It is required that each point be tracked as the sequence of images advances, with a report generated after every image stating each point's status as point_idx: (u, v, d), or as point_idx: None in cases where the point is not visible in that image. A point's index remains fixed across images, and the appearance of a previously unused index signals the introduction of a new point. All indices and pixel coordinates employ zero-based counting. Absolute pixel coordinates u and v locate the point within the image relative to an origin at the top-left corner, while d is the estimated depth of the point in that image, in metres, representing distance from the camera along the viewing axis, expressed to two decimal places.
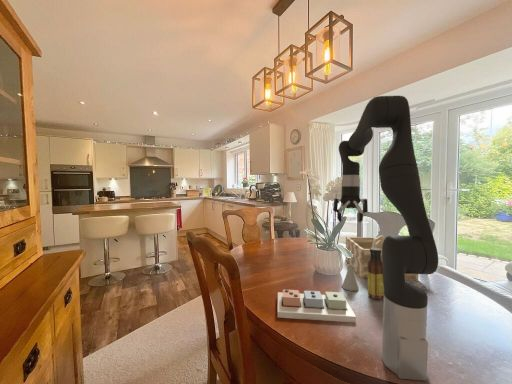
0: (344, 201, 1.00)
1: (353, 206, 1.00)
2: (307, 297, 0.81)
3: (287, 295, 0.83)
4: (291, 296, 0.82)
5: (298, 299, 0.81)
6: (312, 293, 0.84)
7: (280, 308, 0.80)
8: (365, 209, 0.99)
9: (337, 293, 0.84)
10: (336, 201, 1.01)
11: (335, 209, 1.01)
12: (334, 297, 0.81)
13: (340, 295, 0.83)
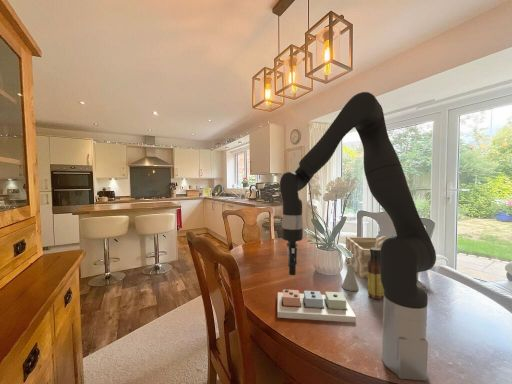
0: (295, 248, 0.81)
1: None
2: (307, 297, 0.81)
3: (287, 295, 0.83)
4: (291, 296, 0.82)
5: (298, 299, 0.81)
6: (312, 293, 0.84)
7: (280, 308, 0.80)
8: None
9: (337, 293, 0.84)
10: None
11: (296, 262, 0.78)
12: (334, 297, 0.81)
13: (340, 295, 0.83)
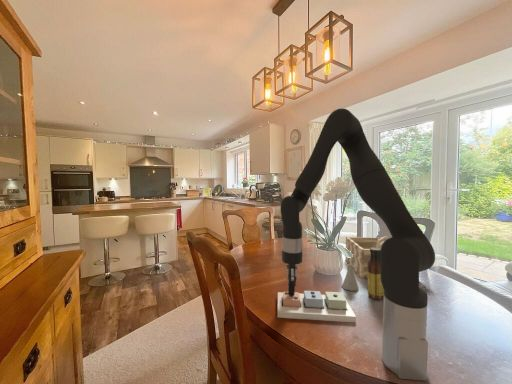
0: (295, 273, 0.82)
1: None
2: (307, 297, 0.81)
3: (287, 297, 0.83)
4: (291, 298, 0.82)
5: (298, 301, 0.81)
6: (312, 293, 0.84)
7: (280, 308, 0.80)
8: None
9: (337, 293, 0.84)
10: (295, 279, 0.79)
11: None
12: (334, 297, 0.81)
13: (340, 295, 0.83)
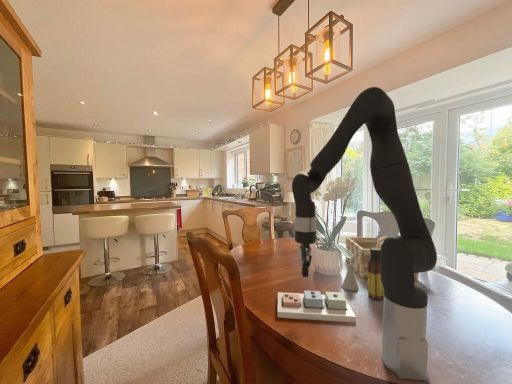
0: (309, 253, 0.80)
1: None
2: (307, 297, 0.81)
3: (287, 299, 0.83)
4: (291, 301, 0.82)
5: (298, 304, 0.81)
6: (312, 293, 0.84)
7: (280, 308, 0.80)
8: None
9: (337, 293, 0.84)
10: (310, 258, 0.77)
11: (309, 264, 0.80)
12: (334, 297, 0.81)
13: (340, 295, 0.83)
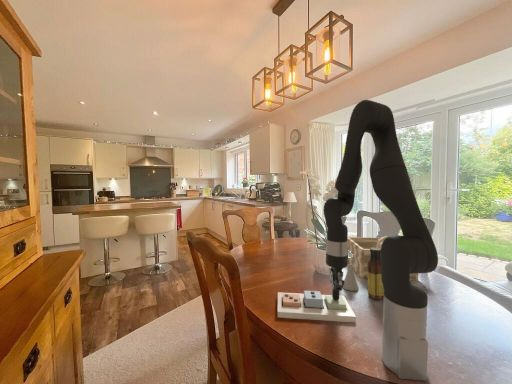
0: None
1: None
2: (307, 297, 0.81)
3: (287, 299, 0.83)
4: (291, 301, 0.82)
5: (298, 304, 0.81)
6: (312, 293, 0.84)
7: (280, 308, 0.80)
8: None
9: None
10: None
11: None
12: (334, 301, 0.82)
13: (340, 299, 0.83)
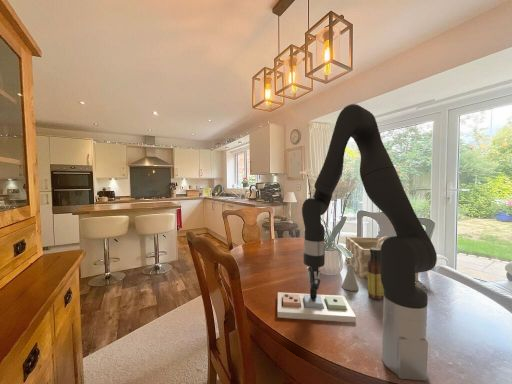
0: (317, 276, 0.81)
1: None
2: (307, 301, 0.81)
3: (287, 299, 0.83)
4: (291, 301, 0.82)
5: (298, 304, 0.81)
6: None
7: (280, 308, 0.80)
8: None
9: (337, 298, 0.84)
10: None
11: None
12: (334, 302, 0.82)
13: (340, 300, 0.83)
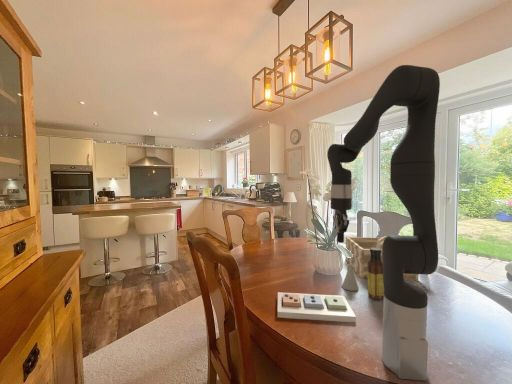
0: None
1: None
2: (307, 302, 0.81)
3: (287, 299, 0.83)
4: (291, 301, 0.82)
5: (298, 304, 0.81)
6: (312, 298, 0.84)
7: (280, 308, 0.80)
8: None
9: (337, 298, 0.84)
10: None
11: None
12: (334, 302, 0.82)
13: (340, 300, 0.83)
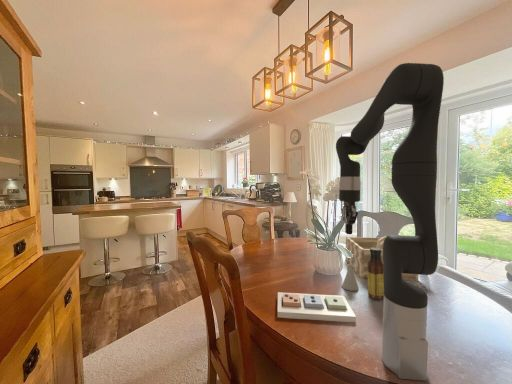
0: None
1: None
2: (307, 302, 0.81)
3: (287, 299, 0.83)
4: (291, 301, 0.82)
5: (298, 304, 0.81)
6: (312, 298, 0.84)
7: (280, 308, 0.80)
8: None
9: (337, 298, 0.84)
10: None
11: None
12: (334, 302, 0.82)
13: (340, 300, 0.83)
